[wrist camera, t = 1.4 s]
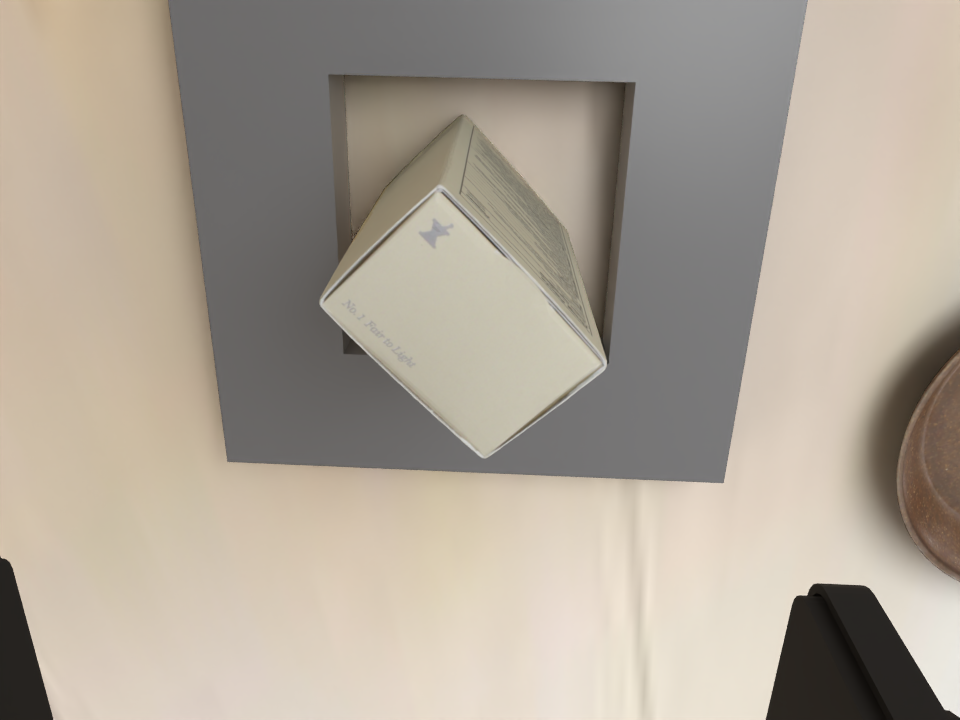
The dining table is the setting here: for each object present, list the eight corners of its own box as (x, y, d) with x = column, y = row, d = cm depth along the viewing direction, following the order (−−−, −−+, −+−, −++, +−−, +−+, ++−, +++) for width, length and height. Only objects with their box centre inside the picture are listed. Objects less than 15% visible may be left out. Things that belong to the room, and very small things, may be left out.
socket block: (186, -96, 26) (154, -105, 24) (796, -84, 26) (823, -93, 23) (247, 431, 34) (227, 461, 32) (709, 450, 34) (723, 483, 32)
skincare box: (381, 189, 30) (300, 298, 19) (467, 106, 29) (435, 172, 17) (493, 306, 32) (479, 470, 21) (579, 234, 30) (614, 367, 19)
